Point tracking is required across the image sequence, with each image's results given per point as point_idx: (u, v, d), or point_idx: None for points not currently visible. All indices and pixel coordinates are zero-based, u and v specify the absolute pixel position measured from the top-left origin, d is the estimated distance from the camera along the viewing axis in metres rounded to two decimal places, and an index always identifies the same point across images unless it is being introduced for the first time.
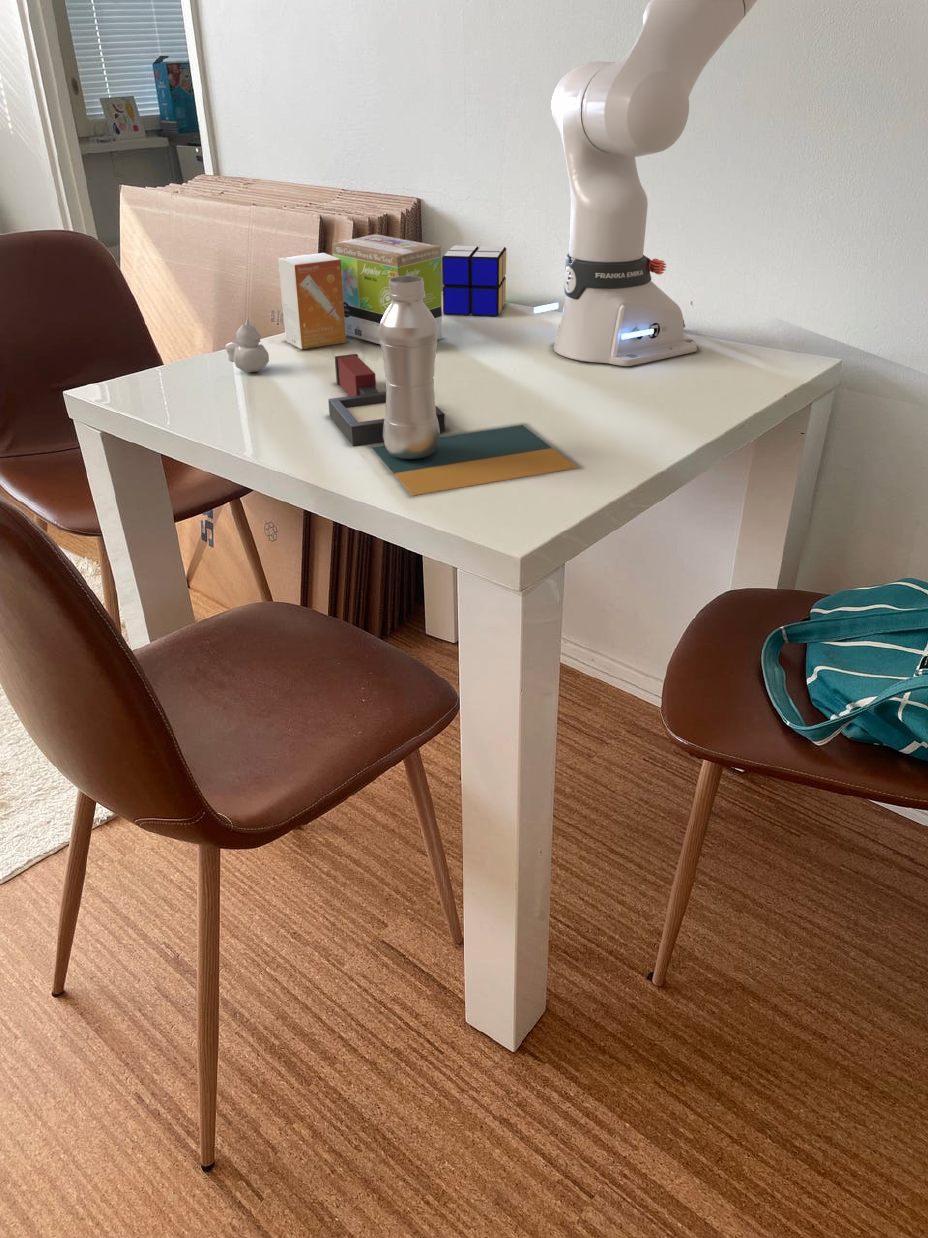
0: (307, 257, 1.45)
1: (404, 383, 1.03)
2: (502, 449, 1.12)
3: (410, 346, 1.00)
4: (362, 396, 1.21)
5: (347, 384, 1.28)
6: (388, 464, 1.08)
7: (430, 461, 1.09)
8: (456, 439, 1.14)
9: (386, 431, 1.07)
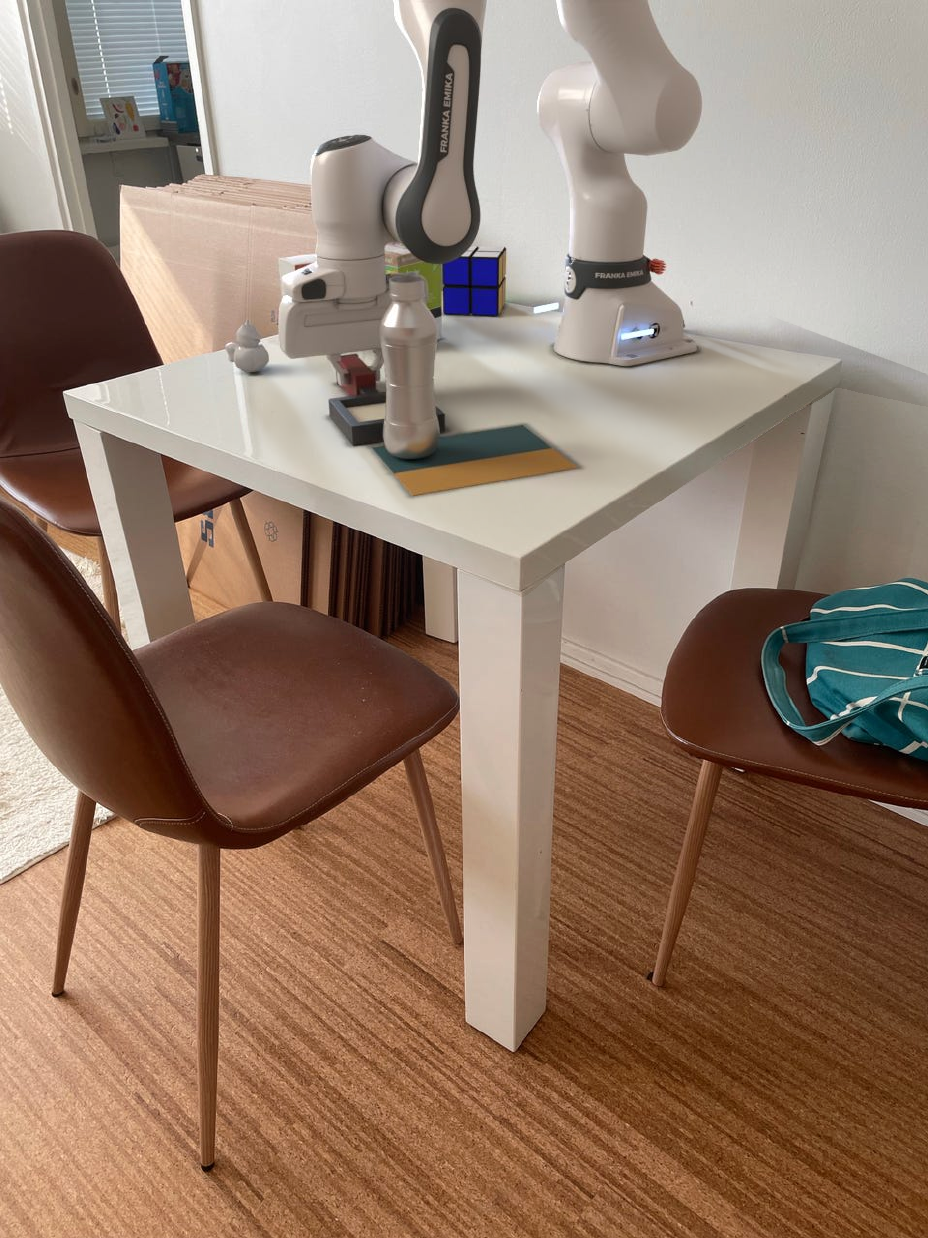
0: (307, 257, 1.45)
1: (404, 383, 1.03)
2: (502, 449, 1.12)
3: (410, 346, 1.00)
4: (362, 396, 1.21)
5: None
6: (388, 464, 1.08)
7: (430, 461, 1.09)
8: (456, 439, 1.14)
9: (386, 431, 1.07)
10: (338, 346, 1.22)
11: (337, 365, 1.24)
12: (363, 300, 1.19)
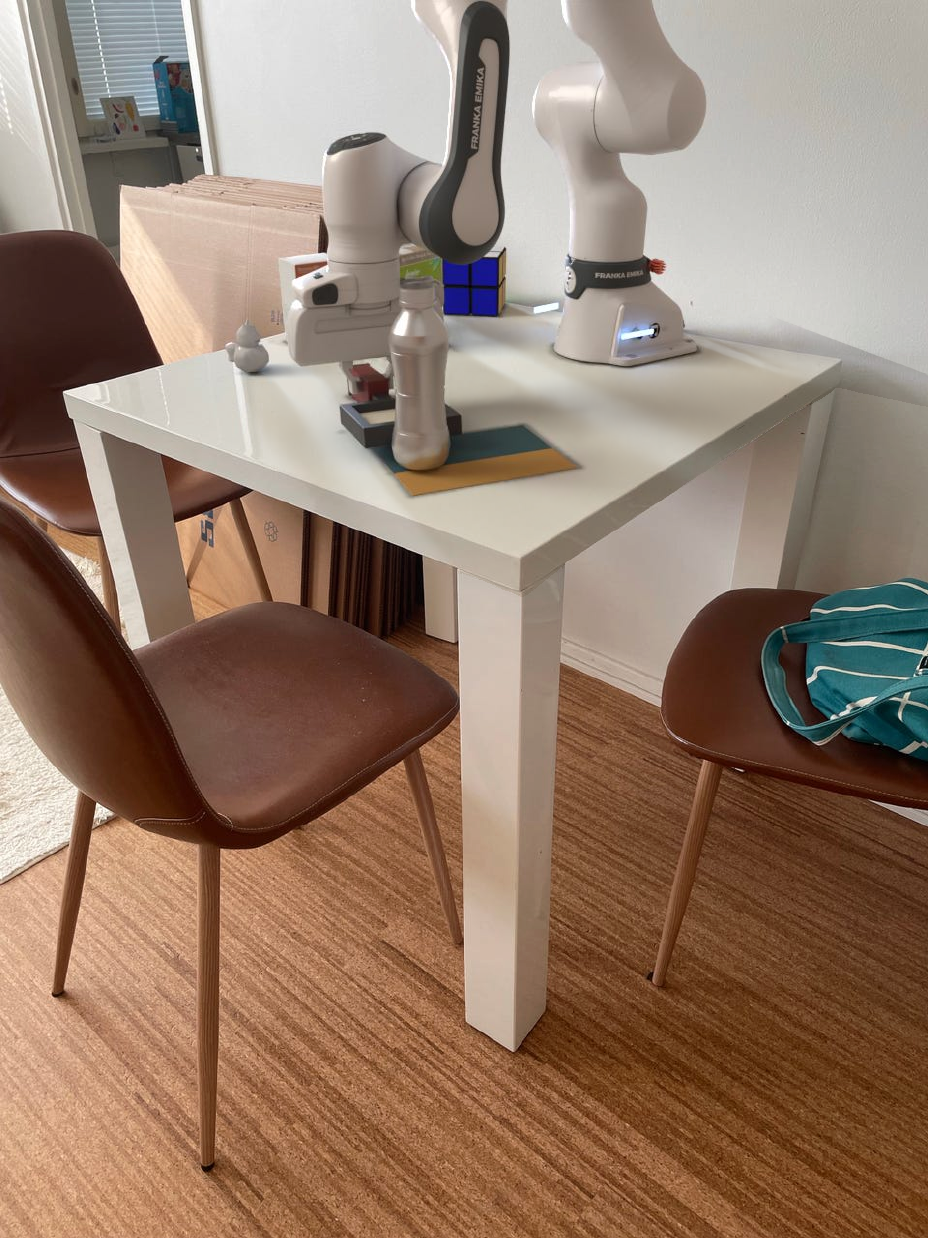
0: (307, 257, 1.45)
1: (414, 393, 1.00)
2: (502, 449, 1.12)
3: (420, 355, 0.98)
4: (375, 401, 1.16)
5: (359, 393, 1.23)
6: (388, 464, 1.08)
7: None
8: (456, 439, 1.14)
9: (395, 441, 1.04)
10: (350, 353, 1.17)
11: (349, 373, 1.19)
12: (376, 305, 1.14)
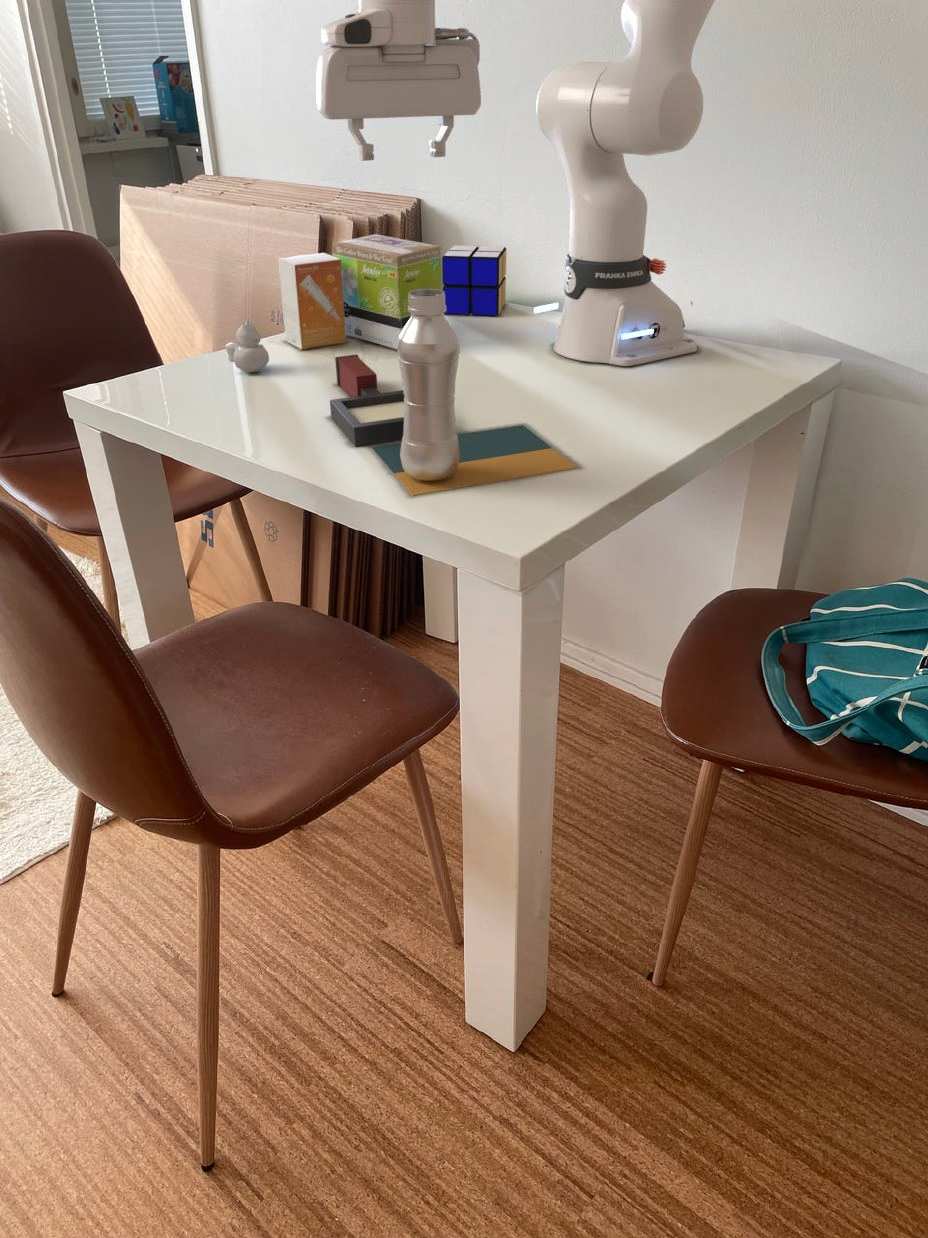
0: (307, 257, 1.45)
1: (423, 402, 0.98)
2: (502, 449, 1.12)
3: (430, 363, 0.95)
4: (364, 397, 1.21)
5: (348, 385, 1.28)
6: (388, 464, 1.08)
7: None
8: None
9: (404, 451, 1.02)
10: (382, 108, 1.12)
11: (359, 134, 1.13)
12: (411, 51, 1.09)
